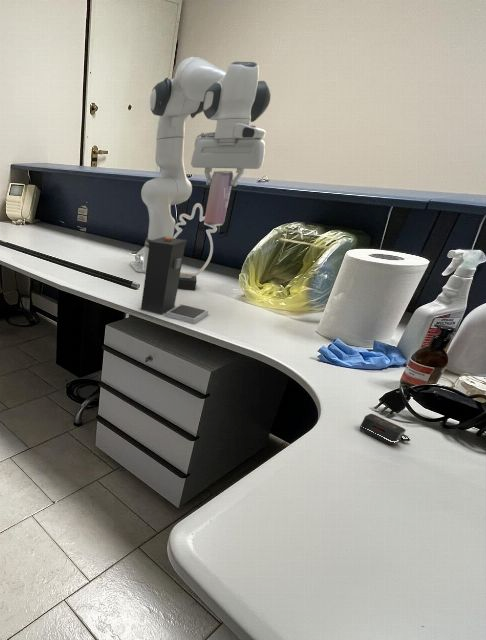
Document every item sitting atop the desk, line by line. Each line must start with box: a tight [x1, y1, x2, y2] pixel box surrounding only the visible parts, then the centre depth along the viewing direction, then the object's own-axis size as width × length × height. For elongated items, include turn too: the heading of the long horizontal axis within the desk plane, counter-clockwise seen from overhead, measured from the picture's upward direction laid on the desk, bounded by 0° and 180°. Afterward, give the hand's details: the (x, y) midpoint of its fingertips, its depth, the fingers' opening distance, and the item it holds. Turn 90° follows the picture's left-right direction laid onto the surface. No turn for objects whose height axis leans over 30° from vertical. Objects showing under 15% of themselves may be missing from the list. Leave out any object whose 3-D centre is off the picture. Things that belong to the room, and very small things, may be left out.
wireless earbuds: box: [359, 413, 411, 446], centre depth 80 cm, size 5×7×3 cm, turn 27°
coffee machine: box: [140, 237, 209, 324], centre depth 135 cm, size 20×11×24 cm, turn 49°
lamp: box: [173, 202, 218, 291], centre depth 160 cm, size 17×9×32 cm, turn 73°
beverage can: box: [203, 170, 235, 227], centre depth 125 cm, size 6×6×15 cm
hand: (221, 185), depth 123 cm, fingers closed on beverage can, 6 cm apart
